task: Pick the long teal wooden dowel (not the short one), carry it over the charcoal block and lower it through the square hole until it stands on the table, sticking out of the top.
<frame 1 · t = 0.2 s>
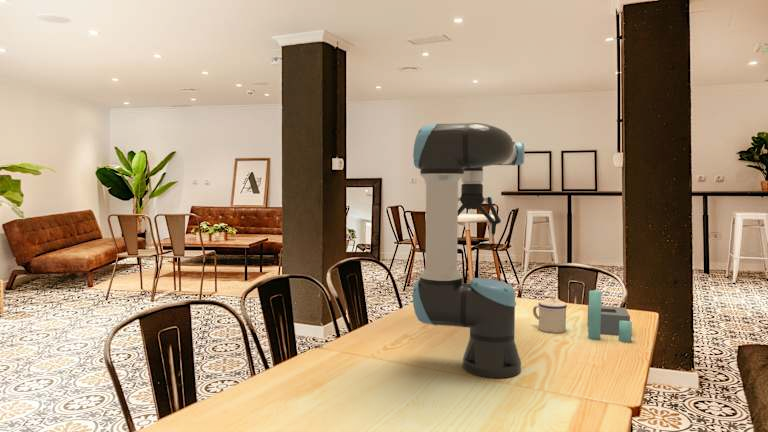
hand: (471, 242, 189), 28 cm above the table, fingers open, 13 cm apart
long pin: (594, 338, 168), on the table
teacup with lid: (548, 329, 179), on the table
hole block: (607, 329, 178), on the table
short pin: (625, 340, 165), on the table
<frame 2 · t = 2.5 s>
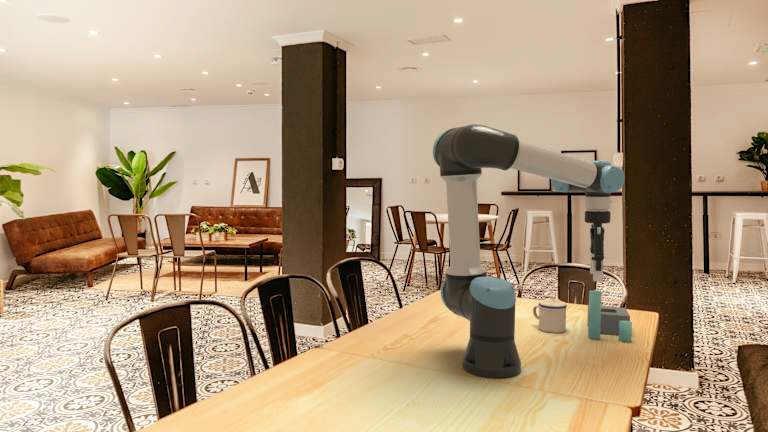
hand: (596, 277, 167), 19 cm above the table, fingers open, 13 cm apart
nothing on the table moved.
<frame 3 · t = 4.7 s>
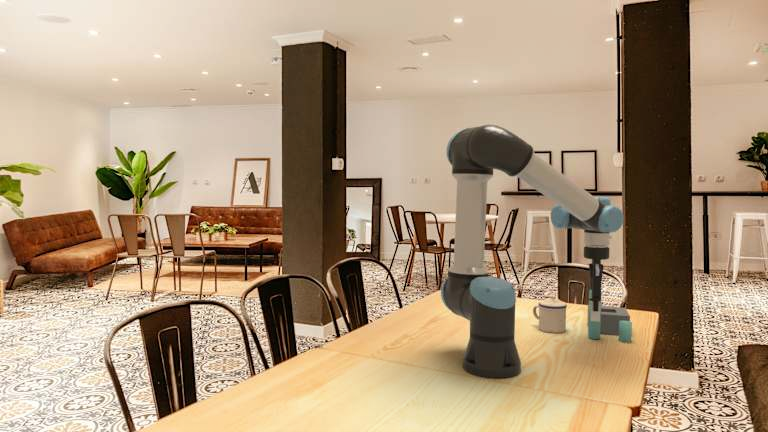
hand: (594, 319, 168), 6 cm above the table, fingers closed on long pin, 3 cm apart
long pin: (594, 337, 168), on the table, touching gripper
everything else where it was.
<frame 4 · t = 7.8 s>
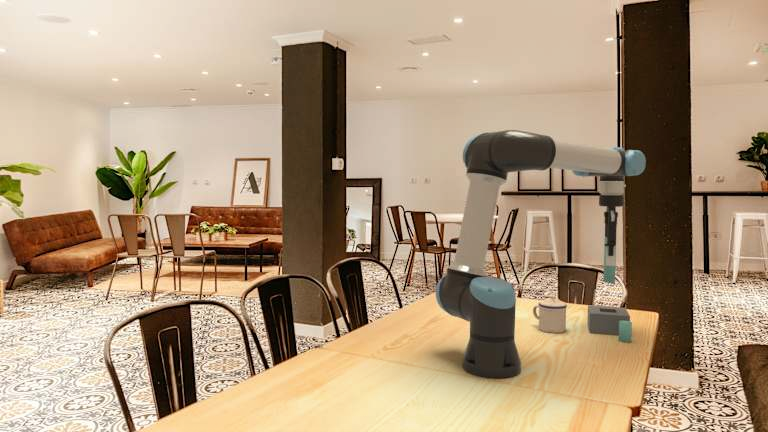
hand: (609, 264, 177), 22 cm above the table, fingers closed on long pin, 3 cm apart
long pin: (609, 281, 177), point 16 cm above the table, touching gripper
everything else where it was.
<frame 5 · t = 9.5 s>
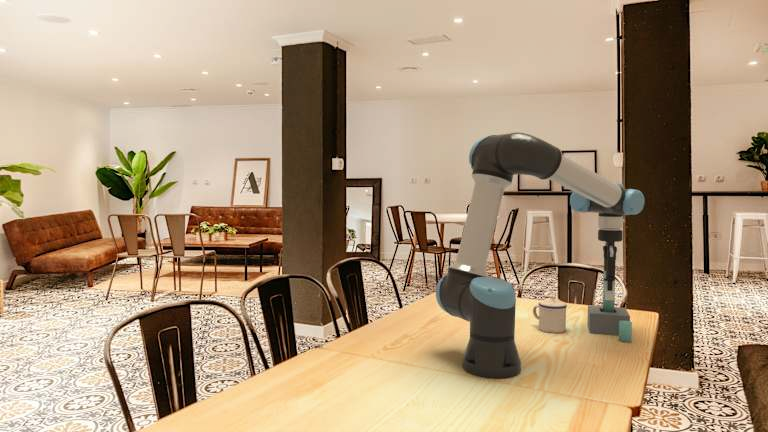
hand: (608, 298, 177), 11 cm above the table, fingers closed on long pin, 3 cm apart
long pin: (608, 315, 178), point 5 cm above the table, touching gripper
everything else where it was.
when the fingers open (8 cm above the table, at t = 10.8 s): long pin drops 3 cm, on the table.
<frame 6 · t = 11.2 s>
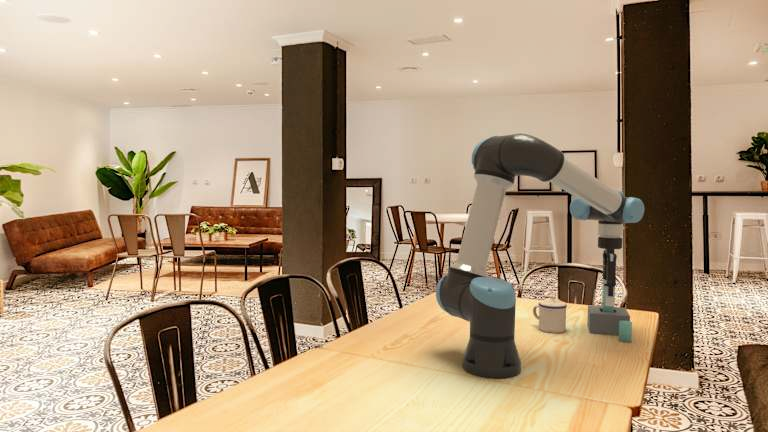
hand: (608, 302, 177), 9 cm above the table, fingers open, 10 cm apart
long pin: (607, 329, 178), on the table
everything else where it was.
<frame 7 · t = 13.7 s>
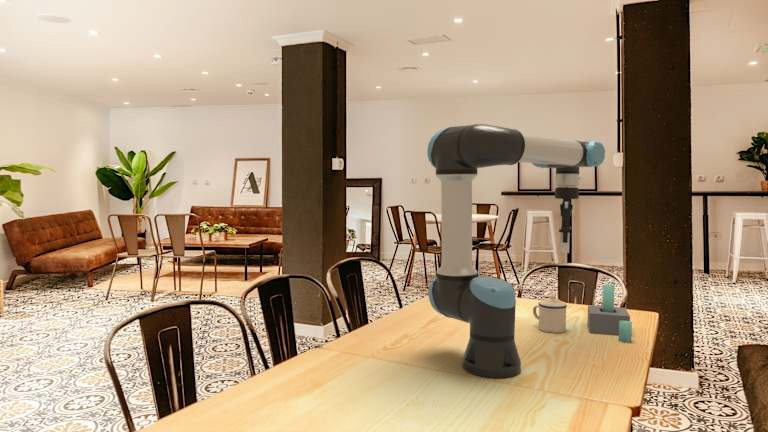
hand: (564, 250, 177), 27 cm above the table, fingers open, 13 cm apart
nothing on the table moved.
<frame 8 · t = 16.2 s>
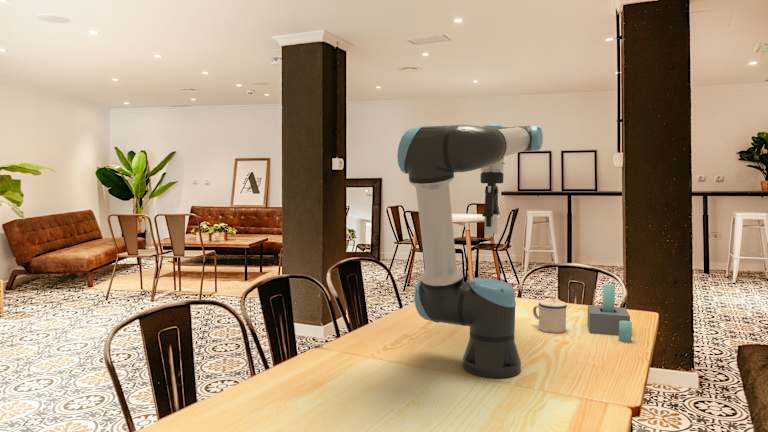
hand: (491, 235, 178), 32 cm above the table, fingers open, 13 cm apart
nothing on the table moved.
at the end: long pin 0.1 cm off-centre on the hole block, point 0.0 cm above the hole block's base; long pin tilted 0°; short pin moved 0.0 cm from its start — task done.
